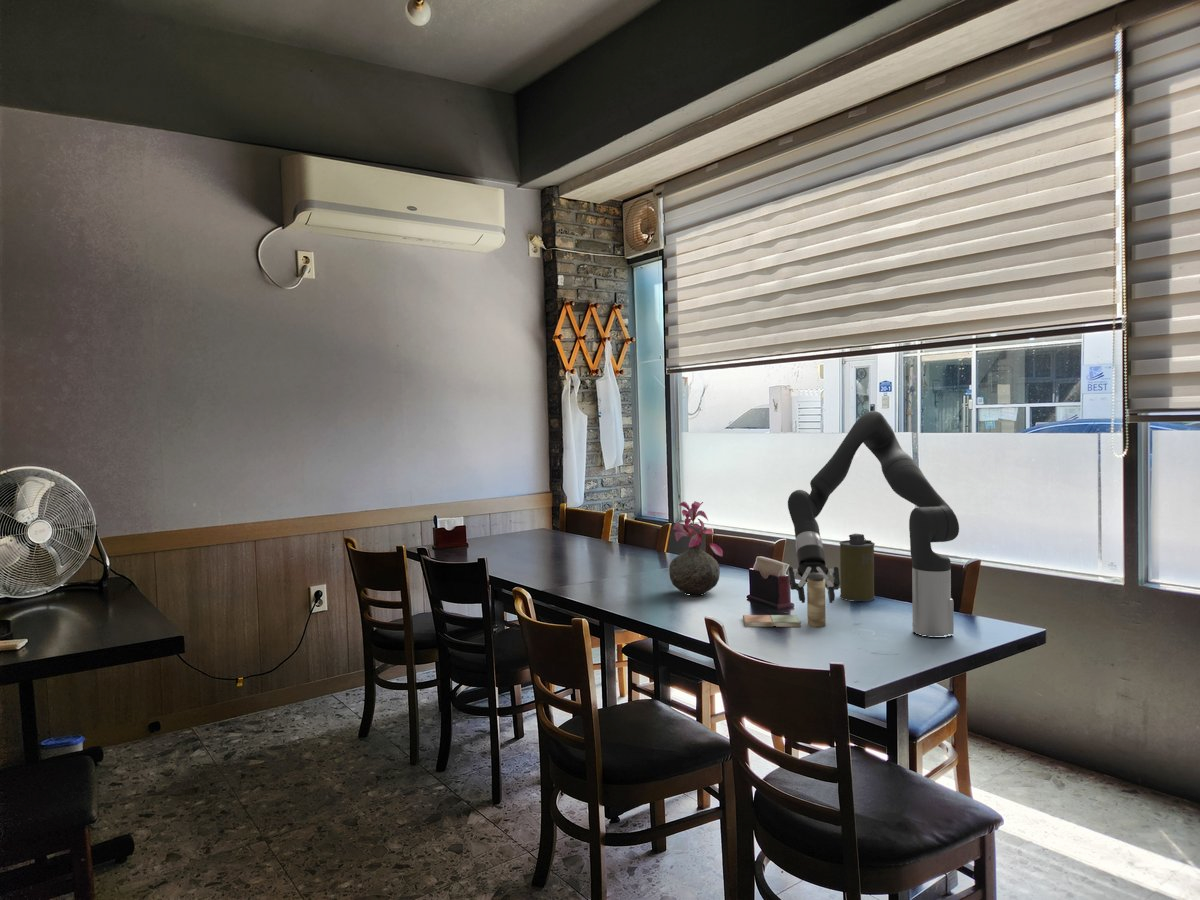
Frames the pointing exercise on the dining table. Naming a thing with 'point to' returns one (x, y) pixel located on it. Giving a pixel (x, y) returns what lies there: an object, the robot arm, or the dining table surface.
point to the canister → (857, 568)
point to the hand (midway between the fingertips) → (817, 601)
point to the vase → (694, 557)
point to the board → (772, 620)
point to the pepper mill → (816, 600)
